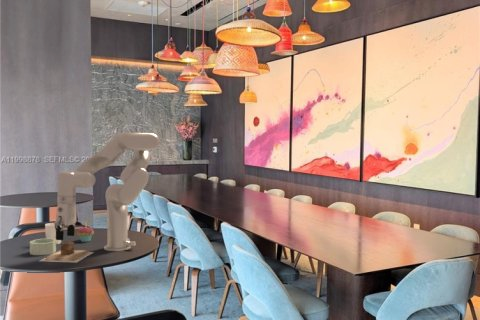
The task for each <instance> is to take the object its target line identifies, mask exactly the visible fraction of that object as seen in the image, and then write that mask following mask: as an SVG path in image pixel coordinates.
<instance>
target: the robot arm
mask: <svg viewBox="0 0 480 320" xmlns="http://www.w3.org/2000/svg"><path fill="white" fill-rule="evenodd" d="M158 146H160V138H159V137H158V135H157V134H155V133H153V132H128V131H127V132H118V133H117V134H115V135H114V136H113V137H112V139H110V140H109V141H108V142H107V143H106V144H105V145H104V146H103V147H102V148H101V149H100V150H99V151H98V152H96V153H95V154H93V155H92V156H91V157H89V158H87V159H86V160H85V161H83V162H82V163H81V164H80V165H78V167H77V168H76V169H75V170H74V171H60V172H59V173H58V174H57V175H58V176H57V199H56V200H57V206H56V214H55V215H56V217H55V221H54V222H53V223H54V224H55V231H56V240H61V241H63V240H64V234H65V233H64V232H65V231H64V228H65V227H67V230H66V235H67V236H68V237H74V236H75V229H76V228H75V227H76V223H77V203H76V199H77V198H76V197H77V196H76V195H77V188H81V189H90V188H92V187H93V186H95V184H96V180H97V179H96V176H95V175H94V174H95V173H97V172H99V171H100V170H103V169H105V168H107V167H110V166H111V165H113V164H114V163H115V162H116V161H117V160H118V159H119V158H120V157H121V155H123V154H124V153H125V152H126V151H134V154H133V157H132V158H131V159H130V161H129V162H128V163H127V165H126V166H125V167H124V169H123V170H122V172H121V174H120V176H119V177H120V182H121V183H123V184H121V183H113V184H111V185H108V187H107V188H106V191H105V201H106V203H105V204H106V210H107V211H106V212H107V216H106V217H107V219H106V225H107V226H106V227H107V228H106V234H107V236H106V237H107V239H106V243H107V244H106V245H104V247H103V250H104V251H108V252H122V251H127V250H131V247H132V246H133V247H135V246H136V241H135V240H134V241H133V240H132V241H131V240H130V238H129V235H128V234H129V232H128V228H129V227H128V224H129V223H128V218H129V217H128V216H129V215H128V214H129V213H128V212H129V211H128V206H130V205H132V204H133V203H134V202H135V201H136V200H137V198H138V196H140V194H141V193H142V191H144V188H145V187H146V185H147V183H148V181H149V173H148V171H147V167H148V166H149V164H150V163H151V152H150V151H154V150H156V149H157V148H158ZM60 226H61V227H60Z"/></svg>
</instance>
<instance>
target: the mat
mask: <svg viewBox="0 0 480 320" xmlns="http://www.w3.org/2000/svg"><path fill="white" fill-rule="evenodd" d="M94 253H95V252H93V251H92V252H91V251H88V254H86V255H84V256H82V257H80V258H79V259H77V260H75V261H61V260H46V257H44V258H42V259H39V262H55V263H76V264H77V263H79V262H80V261H82V260H83V259H85V258H87V257H89V256H90V255H92V254H94Z"/></svg>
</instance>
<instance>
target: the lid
mask: <svg viewBox="0 0 480 320" xmlns="http://www.w3.org/2000/svg"><path fill="white" fill-rule="evenodd" d="M88 252H89V250H83V249H82V250H81V249H79V250H77V249H76V250H75V242H74V241H63V242H61V243H60V249H59V250H58V251H57V250H56V252H54V253H52V254H48V255H46V256H45V258H46V260H61V261H75V260H77V259H79V258H80V257H82V256H84V255H86V254H88Z"/></svg>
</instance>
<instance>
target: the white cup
mask: <svg viewBox="0 0 480 320" xmlns="http://www.w3.org/2000/svg"><path fill="white" fill-rule="evenodd" d="M44 227H45V228H44V231H45V233H44V234H45V238H50V239H56V231H55V224H54V222H50V223H49V222H48V223H45V224H44ZM60 227H61V226H60ZM61 243H62V240H56V245H61Z"/></svg>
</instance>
